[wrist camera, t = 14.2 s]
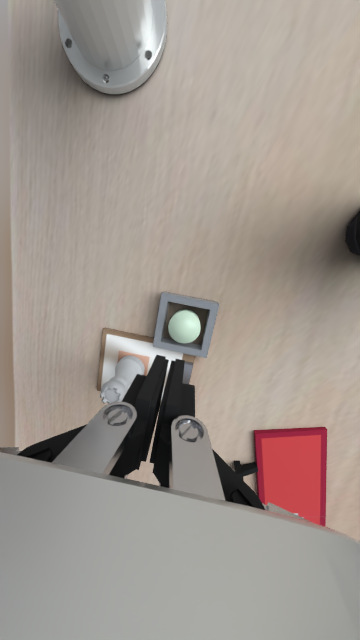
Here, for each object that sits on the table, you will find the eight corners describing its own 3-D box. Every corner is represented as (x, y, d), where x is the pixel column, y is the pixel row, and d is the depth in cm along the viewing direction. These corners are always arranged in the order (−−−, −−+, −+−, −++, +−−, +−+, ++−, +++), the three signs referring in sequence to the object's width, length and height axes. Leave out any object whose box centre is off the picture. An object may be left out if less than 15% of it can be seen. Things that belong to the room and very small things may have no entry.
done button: (173, 306, 28) (171, 309, 25) (202, 311, 28) (203, 315, 25) (168, 333, 29) (165, 339, 26) (196, 339, 29) (196, 346, 26)
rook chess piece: (127, 384, 31) (104, 418, 23) (113, 360, 31) (85, 388, 23) (150, 373, 31) (135, 405, 23) (137, 349, 30) (116, 374, 22)
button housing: (164, 291, 28) (161, 292, 26) (217, 301, 28) (219, 304, 26) (156, 341, 30) (152, 346, 28) (205, 351, 30) (206, 358, 27)
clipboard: (104, 327, 30) (99, 330, 29) (196, 346, 30) (196, 350, 28) (98, 388, 33) (93, 393, 31) (183, 406, 32) (183, 413, 31)
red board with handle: (242, 557, 39) (319, 556, 37) (246, 578, 36) (330, 578, 35) (230, 429, 33) (321, 423, 32) (234, 442, 30) (333, 436, 29)
